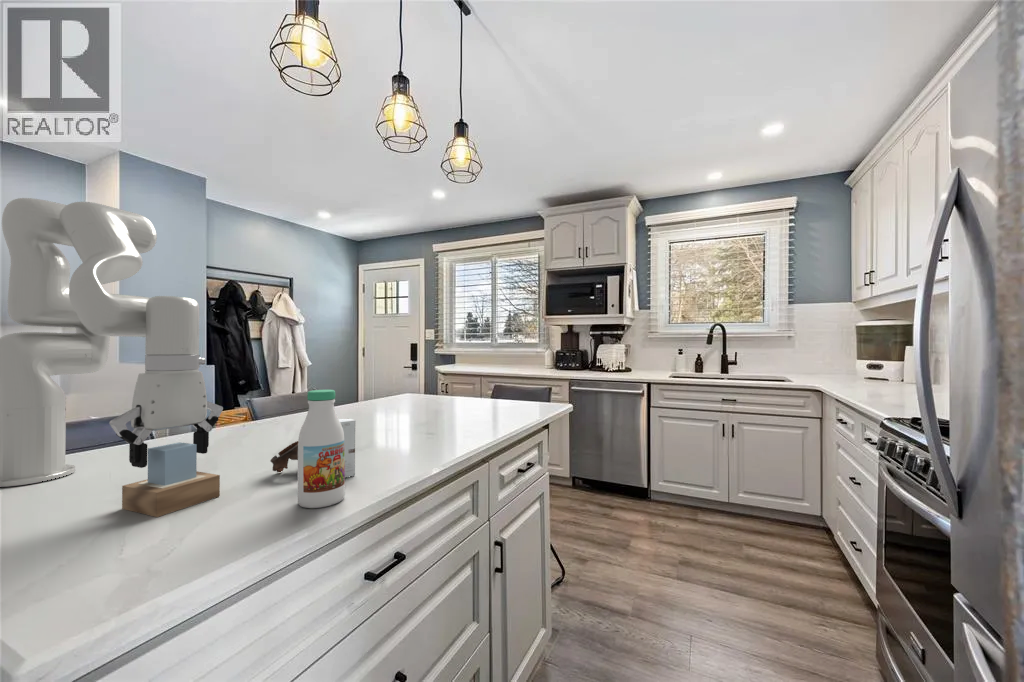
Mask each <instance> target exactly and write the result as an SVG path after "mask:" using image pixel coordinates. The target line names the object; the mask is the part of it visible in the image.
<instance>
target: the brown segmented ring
mask: <svg viewBox="0 0 1024 682" xmlns="http://www.w3.org/2000/svg"><path fill="white" fill-rule="evenodd" d="M277 454H278V456H277V455H273V457H272V458H271V459H270V462H271V463H272V471H273V472H276V473H278V472H281V471H282V472H283V471H284V469H288V463H289V460H291V461H298V440H296V441H294V442H291V444H289V445H287V446H286V447H285V448H283V449H281V451H279V452H278V453H277Z"/></svg>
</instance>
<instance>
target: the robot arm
mask: <svg viewBox="0 0 1024 682" xmlns="http://www.w3.org/2000/svg"><path fill="white" fill-rule="evenodd" d="M1 227H2V228H1V229H2V230H1V231H2V233H3V234H2V235H3V237H4V241H5V242H6V246H7V249H8V252H9V257H10V267H9V268H10V269H9V279H8V280H9V281H8V291H7V313H8V316H9V318H10V320H12V321H13V322H15V323H17V324H20V325H24V326H31V327H34V326H35V327H54V328H74V329H75V332H72V333H71V332H50V331H49V332H45V331H43V332H42V331H40V332H39V331H38V332H37V331H29V332H28V331H26V332H25V331H23V332H22V331H21V332H12V333H8V334H6V335H3V336H1V337H0V488H6V487H16V486H26V485H32V484H37V483H42V481H43V482H46V481H47V480H48V481H52V480H56V479H59V477H60V478H63V476H64V477H66V475H67V476H69V475H72V474H73V473H75V472H76V466H75V465H73V464H66V445H67V444H66V443H67V442H66V439H67V437H66V435H67V434H66V433H67V427H66V426H67V421H66V418H67V417H66V416H67V412H66V411H67V405H66V404H67V401H66V400H67V398H66V397H67V396H66V393H65V390H64V389H63V388H62V387H61V386H60V385H59V384H58V383H57V382H56V381H54V379H52V378H51V377H52V376H53V377H54V376H60V375H61V376H63V375H80V374H81V375H82V374H91V373H96V372H99V371H101V370H102V369H103V368H105V365H106V363H107V362H108V358H109V350H110V349H109V348H110V341H111V340H110V339H111V337H125V338H126V337H132V338H133V337H135V338H145V344H144V345H145V347H144V350H145V351H144V352H145V355H144V357H145V358H144V362H145V363H144V365H145V366H144V369H145V370H144V373H143V372H142V373H138V376H137V379H136V382H135V386H134V391H133V397H132V403H131V409H129V410H127V411H126V412H124V413H122V414H120V415H118V416H117V417H115V418H113V419H111V420H109V423H108V424H109V426H110V427H111V429H112V430H113V431H114V432H115V435H116V436H117V437H118V438H120V439H122V440H123V441H125V443H127V444H128V446H129V448H128V449H129V450H128V451H129V452H128V453H129V456H128V460H129V463H130V464H131V466H132V467H134V468H139V469H142V468H146V467H148V443H145V441H146V440H147V438H148V437H149V436H150V434H152V432H154V431H157V432H158V431H163V430H168V429H169V430H170V429H174V428H175V429H176V428H180V427H181V428H182V427H187V426H192V427H193V428H195V430H194V432H193V436H192V437H193V438H192V442H193V443H192V444H197V454H203V455H205V454H207V453H208V449H209V444H210V443H209V441H210V439H209V438H210V437H209V436H210V432H211V431H212V430H213V427H214V426H215V425H216V424H217V423H218V422H219V418H220V416H221V414H222V413H223V410H224V407H223V406H222V405H219V404H217V403H214V402H211V401H208V399H207V396H208V395H207V389H206V381H205V377H204V374H203V371H200V370H199V369H200V368H201V367H200V366H201V365H203V366H204V365H205V364H206V358H205V357H201V356H200V354H199V353H200V351H199V350H200V304H199V303H198V301H197V300H196V299H194V298H191V297H183V296H173V295H159V296H158V295H157V296H152V297H146V296H138V295H130V294H119V293H109V292H107V291H106V290H105V289H104V288H103V287H104V286H102V285H106V284H110V283H115V282H119V281H124V280H126V279H129V278H131V277H133V276H134V275H136V274H138V273H139V272H140V271H141V269H142V266H143V263H144V261H143V257H142V255H141V254H145V253H148V252H151V251H152V250H153V249H154V247H155V246H156V243H157V239H158V237H157V236H158V235H157V231H156V228H155V226H154V224H153V223H152V222H151V220H149V219H148V218H147V217H145V216H144V215H142V214H139V213H136V212H133V211H130V210H129V211H128V210H124V209H121V208H117V207H112V206H109V205H105V204H102V203H101V204H100V203H98V202H97V203H96V202H90V201H75V202H71V203H68V204H64V203H60V202H55V201H52V200H51V201H50V200H46V199H40V198H33V197H22V198H21V197H18V198H14V199H12V200H10V201H9V202H8V203H7V204H6V205H5V207H4V209H3V212H2V216H1ZM56 244H57V245H62V246H68V247H72V248H74V249H75V251H76V254H77V255H78V256H79V258H80V261H82V263H81V264H80V265H79V266H78V267H76V269H75V270H74V272H73V274H72V275H71V264H70V261H69V260H68V259H67V257H66V256H65V254H64V253H63V252H62V251H61V250H60V248H59V247H58V246H57V245H56ZM70 275H71V276H70ZM70 277H71V278H70ZM208 410H209V411H210V414H209V415H208ZM207 415H208V416H207ZM129 422H130V425H131V427H132V428H133V430H132V431H131V430H129V429H128V427H127V424H128V423H129ZM71 473H72V474H71ZM55 478H56V479H55ZM51 479H52V480H51Z"/></svg>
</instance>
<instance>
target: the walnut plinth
mask: <svg viewBox="0 0 1024 682" xmlns="http://www.w3.org/2000/svg"><path fill="white" fill-rule="evenodd" d="M220 477H221V475H220V474H215V473H210V472H209V473H208V472H203V471H197V470H196V477H195V478H191V479H188V480H184V481H180V482H177V483H173V484H169V485H166V486H164V485H159V484H154V483H148V478H147V479H143V480H140V481H135V482H132V483H128V484H124V485H121V490H122V492H121V493H122V494H121V497H122V498H121V509H122V510H126V511H129V512H132V513H133V512H134V513H139V514H143V515H147V516H151V517H155V518H159V517H162V516H165V515H168V514H171V513H174V512H177V511H181V510H184V509H186V508H189V507H193V506H195V505H198V504H201V502H202V503H204V501H205V502H206V501H207V500H208V501H210V499H211V500H213V499H212V498H214V499H216V497H217V498H220V497H219V496H220V495H221V493H220V492H221V487H220V486H221V485H220V484H221V481H220V480H221V479H220Z"/></svg>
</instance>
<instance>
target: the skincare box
mask: <svg viewBox="0 0 1024 682" xmlns="http://www.w3.org/2000/svg"><path fill="white" fill-rule="evenodd" d="M338 419H339V421H340V423H341V425H342V428H343V432H344V448H345V477H347V478H350V477H349V476H352V477H354V476H355V475H356V420H355V419H353V418H348V417H347V418H346V417H345V418H338Z"/></svg>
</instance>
